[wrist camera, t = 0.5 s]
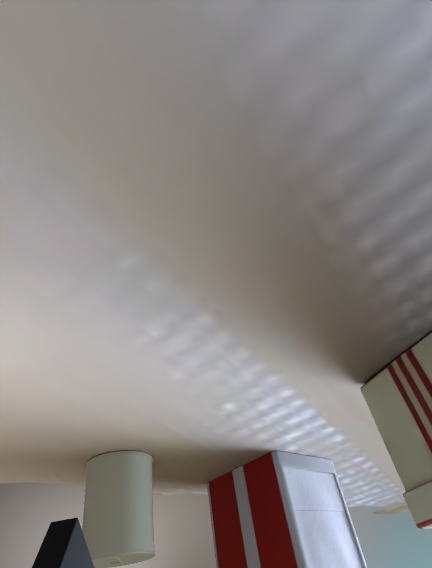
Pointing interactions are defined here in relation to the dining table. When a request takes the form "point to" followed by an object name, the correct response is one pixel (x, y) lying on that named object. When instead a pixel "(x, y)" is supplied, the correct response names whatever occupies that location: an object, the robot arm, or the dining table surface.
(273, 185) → the dining table surface
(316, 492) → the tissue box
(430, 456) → the gift box
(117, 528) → the can
